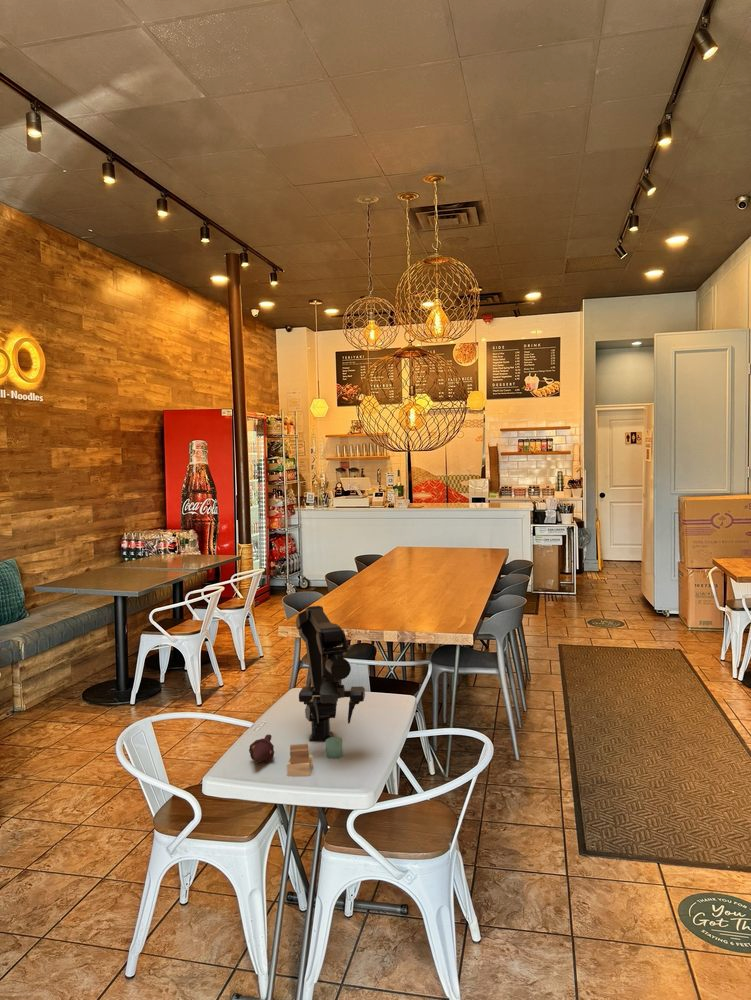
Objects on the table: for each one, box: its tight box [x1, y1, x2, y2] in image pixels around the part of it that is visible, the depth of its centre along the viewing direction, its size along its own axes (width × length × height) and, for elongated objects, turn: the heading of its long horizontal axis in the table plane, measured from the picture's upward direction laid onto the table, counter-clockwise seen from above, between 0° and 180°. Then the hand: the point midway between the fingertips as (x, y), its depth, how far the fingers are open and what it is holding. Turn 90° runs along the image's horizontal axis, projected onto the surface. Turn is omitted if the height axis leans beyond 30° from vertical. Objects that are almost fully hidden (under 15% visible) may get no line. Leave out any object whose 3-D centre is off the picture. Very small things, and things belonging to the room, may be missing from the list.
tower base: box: [286, 754, 314, 777], centre depth 194 cm, size 6×6×4 cm
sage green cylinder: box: [325, 736, 344, 760], centre depth 204 cm, size 5×5×4 cm
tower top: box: [289, 743, 310, 764], centre depth 193 cm, size 5×5×4 cm
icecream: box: [248, 734, 275, 764], centre depth 201 cm, size 7×7×15 cm
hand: (333, 723), depth 204 cm, fingers open, 9 cm apart
